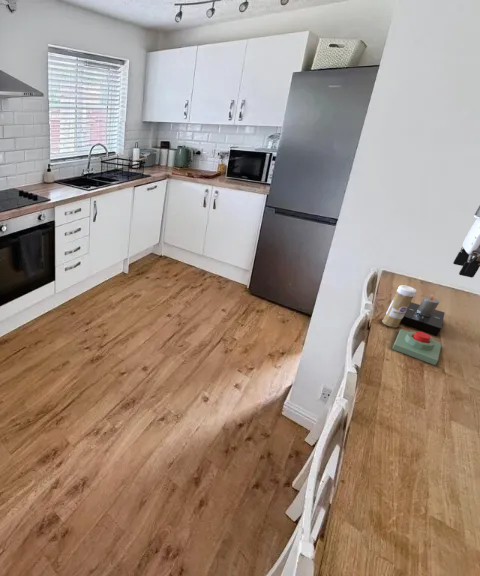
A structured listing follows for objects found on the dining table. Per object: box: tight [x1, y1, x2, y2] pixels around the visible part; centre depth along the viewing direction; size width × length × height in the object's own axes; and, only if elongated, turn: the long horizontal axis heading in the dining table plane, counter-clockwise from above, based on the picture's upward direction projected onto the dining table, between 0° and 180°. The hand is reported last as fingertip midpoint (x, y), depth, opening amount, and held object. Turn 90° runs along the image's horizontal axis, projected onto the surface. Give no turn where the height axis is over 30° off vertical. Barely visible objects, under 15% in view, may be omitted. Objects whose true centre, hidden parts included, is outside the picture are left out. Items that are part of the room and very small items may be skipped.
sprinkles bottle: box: [381, 284, 418, 328], centre depth 117 cm, size 5×5×14 cm
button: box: [413, 330, 432, 343], centre depth 107 cm, size 4×4×2 cm
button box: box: [392, 328, 442, 366], centre depth 108 cm, size 12×10×4 cm
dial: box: [416, 296, 440, 317], centre depth 120 cm, size 4×4×6 cm
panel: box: [399, 301, 446, 337], centre depth 122 cm, size 14×10×3 cm
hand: (462, 270), depth 110 cm, fingers open, 9 cm apart
